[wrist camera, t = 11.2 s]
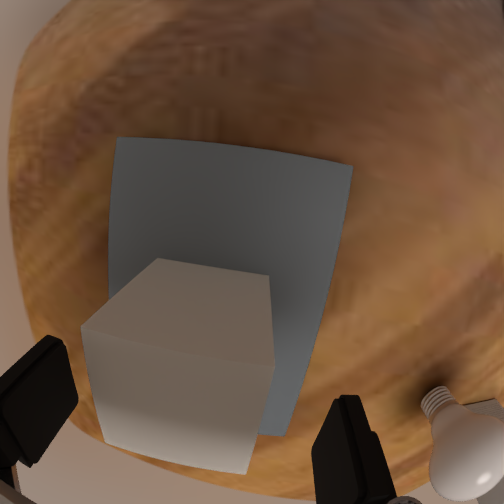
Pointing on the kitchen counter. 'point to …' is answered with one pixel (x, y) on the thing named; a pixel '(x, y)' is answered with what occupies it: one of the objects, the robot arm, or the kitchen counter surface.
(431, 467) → the lightbulb
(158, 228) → the post board
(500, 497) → the skincare box
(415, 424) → the kitchen counter surface
